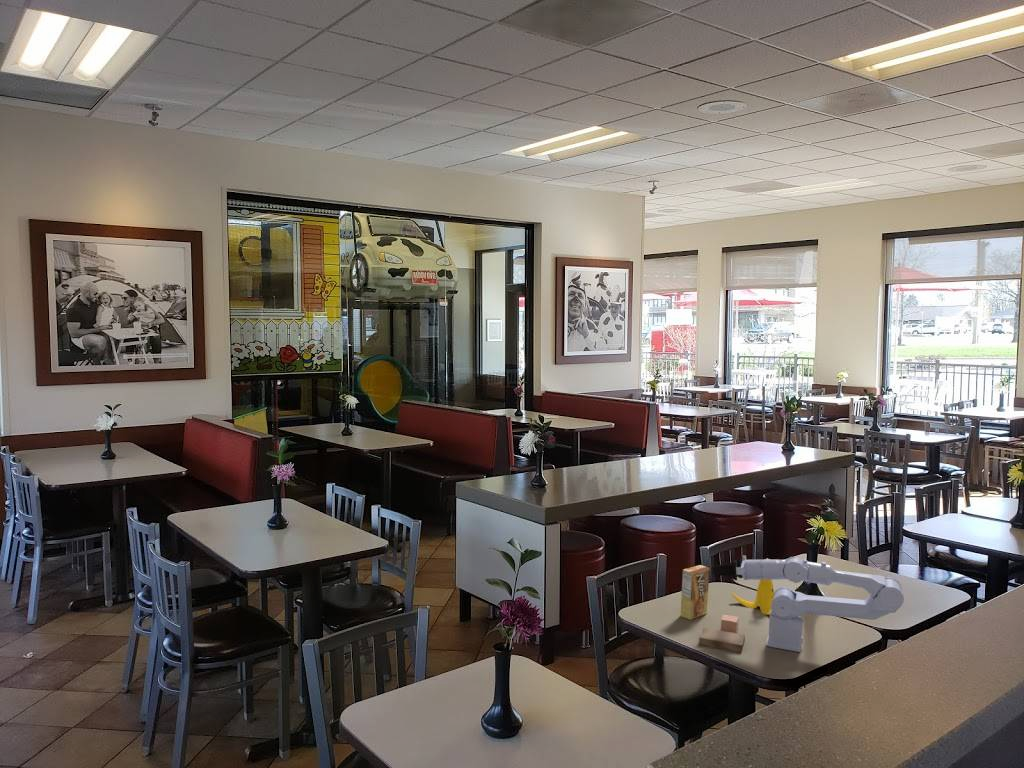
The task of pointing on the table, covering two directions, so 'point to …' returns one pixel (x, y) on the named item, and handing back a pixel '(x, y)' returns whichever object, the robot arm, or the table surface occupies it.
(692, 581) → the candy box
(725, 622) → the terracotta cube
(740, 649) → the walnut board
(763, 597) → the banana peel
